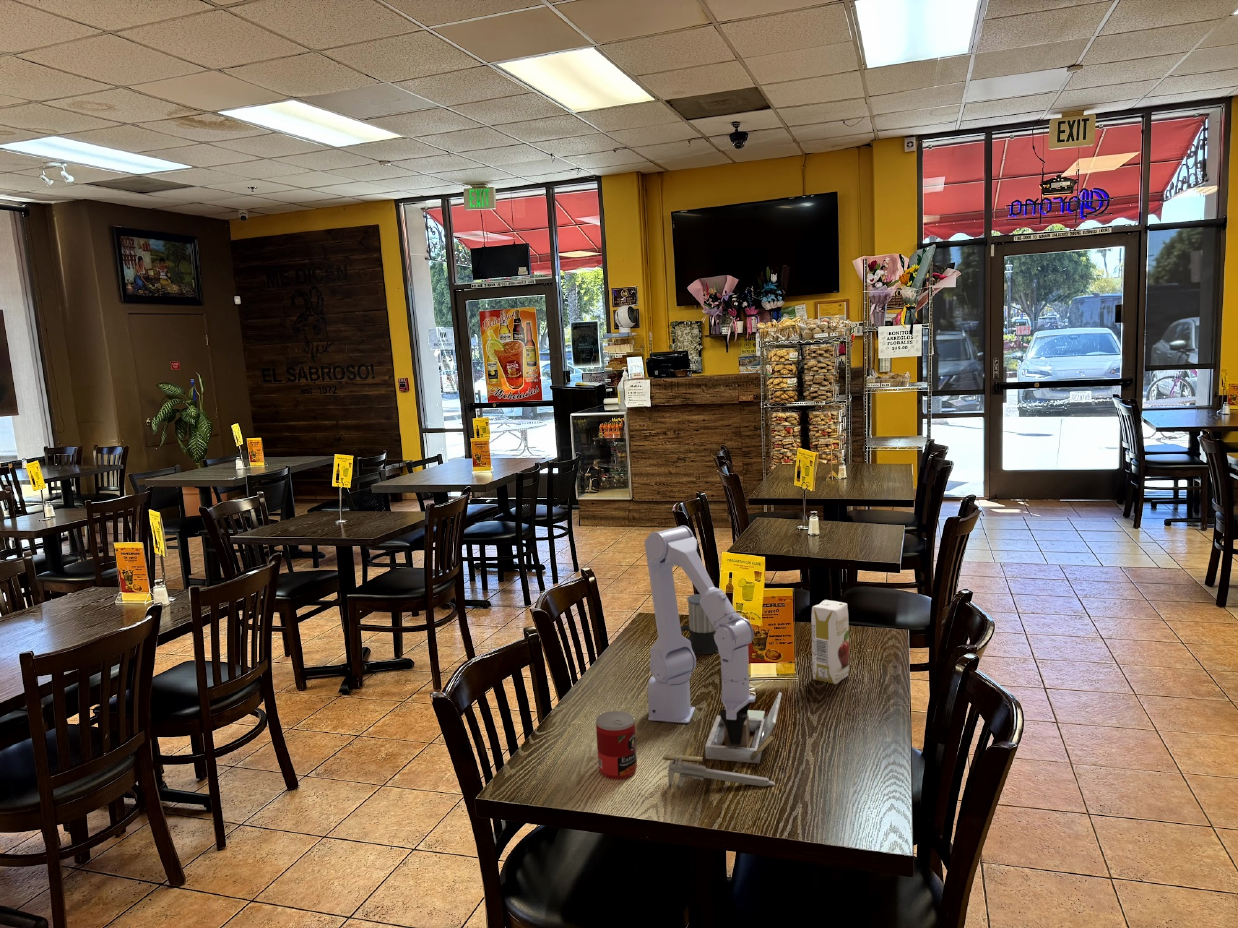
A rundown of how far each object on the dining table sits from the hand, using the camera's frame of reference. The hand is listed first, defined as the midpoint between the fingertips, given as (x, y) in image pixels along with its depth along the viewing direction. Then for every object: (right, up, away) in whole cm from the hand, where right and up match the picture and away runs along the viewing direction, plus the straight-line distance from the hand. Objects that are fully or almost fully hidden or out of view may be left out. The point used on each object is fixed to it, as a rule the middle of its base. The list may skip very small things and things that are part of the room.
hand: (737, 737), depth 176 cm
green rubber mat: (+4, 0, +12) cm, 13 cm away
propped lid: (+6, -1, -2) cm, 6 cm away
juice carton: (+28, +4, +33) cm, 43 cm away
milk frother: (-3, +6, +61) cm, 61 cm away
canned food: (-25, -4, -8) cm, 27 cm away
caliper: (-5, -4, -16) cm, 18 cm away
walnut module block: (0, -1, 0) cm, 1 cm away
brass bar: (-12, -3, -5) cm, 13 cm away
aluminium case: (0, -1, 0) cm, 1 cm away
